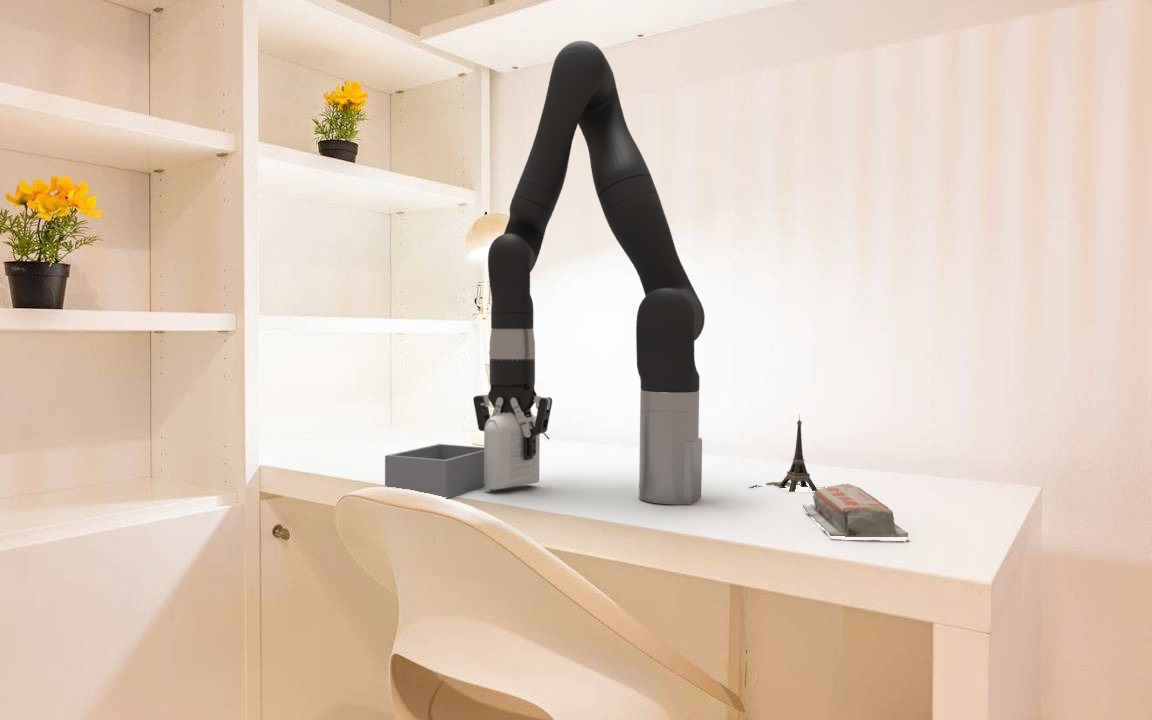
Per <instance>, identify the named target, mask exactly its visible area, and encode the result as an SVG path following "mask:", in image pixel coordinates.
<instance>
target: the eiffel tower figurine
mask: <svg viewBox="0 0 1152 720" xmlns="http://www.w3.org/2000/svg"><path fill="white" fill-rule="evenodd" d="M800 419H801V415H800V414H799V416H798V420H797V423H796V424H797V432H796V433H797V434H796V439H795V441H796V442H795V443H796V444H795V450H794V451H795V452H794V456H793V458H792V463H791V466H790V469H789V471H787V472H786V476H785V477H784V479H783V480H782V481H776V482H774V481H773V482H767V483H765V486H770V485H771V486H772V485H774V486H772V487H777V488H778V487H779V488H778V489H780V488H786V487H785V486H788V487H789V486H790V489H789V492H795V489H796V485H800V484H801V485H800V486H801V487H808V486H807V485H806V484H809V486H810V487H809V488H811V489H812V491H816V490H818V487H815V485H816V484H814V482H813V480H812V479H811V476H810V473H808V471H807V467H806V464H805V461H806V460H805V459H804V455H803V442H802V439H803V438H802V425H803V423H802V421H801V420H800ZM790 482H791V483H790ZM798 483H799V484H798ZM757 486H758V487H757ZM762 486H763V485H758V484H755V485H751V486H749V487H748V488H749V489H751V488H754V487H756V488H763V487H762ZM771 486H770V487H771ZM754 489H755V488H754ZM789 492H788V493H789Z"/></svg>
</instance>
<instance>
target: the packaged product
mask: <svg viewBox="0 0 1152 720" xmlns="http://www.w3.org/2000/svg"><path fill="white" fill-rule="evenodd" d="M826 487H827V488H825V487H821V488H819V489H817V490H816V491H815V492H813V496H812V498H813V503H814V504H810V505H806V504H802V509H803V508H804V509H805V511H806V512H807V513H808V514H809V515H810V516H811V517H813V518H814V519H815V521H816V522H817V523H819V524H820V525H821V527H823V528H824V529H825V531H827V532H828V533H829V535H830V536H845V537H908V538H909V532H906V530H904V529H903V528H901V527H900V526H899V525H898V524H896V523H895V517H894V513H893V510H891V509H890V508H889V507H888V506H887V505H885V504H883V503H882V502H881V501H879V500H878V499H876V498H875V497H874V496H872V495H871V494H869V493H867V492H866V491H865V490H864V489H862V488H861V487H859V486H856V485H852V484H849V483H841V484H837V485H833V486H831V485H830V486H826ZM807 513H806V514H807ZM808 514H807V515H808ZM809 515H808V516H809ZM810 516H809V517H810ZM811 517H810V518H811Z"/></svg>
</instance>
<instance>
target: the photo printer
mask: <svg viewBox="0 0 1152 720" xmlns="http://www.w3.org/2000/svg"><path fill="white" fill-rule="evenodd" d="M525 417H526V418H527V416H525ZM533 417H534V424H535V422H536V417H537V415H534V414H533ZM483 432H484V433H483V434H484V435H483V436H484V438H483V440H484V441H483V444H484V445H483V447H484V484H485V486H484V487H485V488H486V489H489V490H500V489H508V488H512V487H519V486H527V485H533V484H537V483H539V481H540V447H541V446H540V445H541V444H540V434H538V435H537V436H536V454H535V456H533V459H531V460H524V457H523V438H525V435H524V432H523V430H522V427H521V425H520V424H519V423H518V420H517V417H516V416H515V415H514V414H513V413H511V412H509V413H505V412H504V413H500V414H497V415H495V416H493V417H491V416H490V418H489V419H488V420H487V422H486V424H485V428H484V431H483Z"/></svg>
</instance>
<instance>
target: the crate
mask: <svg viewBox="0 0 1152 720" xmlns="http://www.w3.org/2000/svg"><path fill="white" fill-rule="evenodd" d="M385 486H387V487H396V488H402V489H410V490H415V491H419V492H424V493H430V494H434V495H438V496H442V497H447V498H448V499H450V498H454V497H456V496H459V495H462V494H466V493H468V492H471V491H475V490H477V489H480V488H483V487H486V486H485V484H484V446H470V445H457V444H445V443H437V444H433V445H432V444H431V445H428V446H423V447H419V448H415V449H409V450H405V451H401V452H395V453H390V454H386V455H384V487H385Z"/></svg>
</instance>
